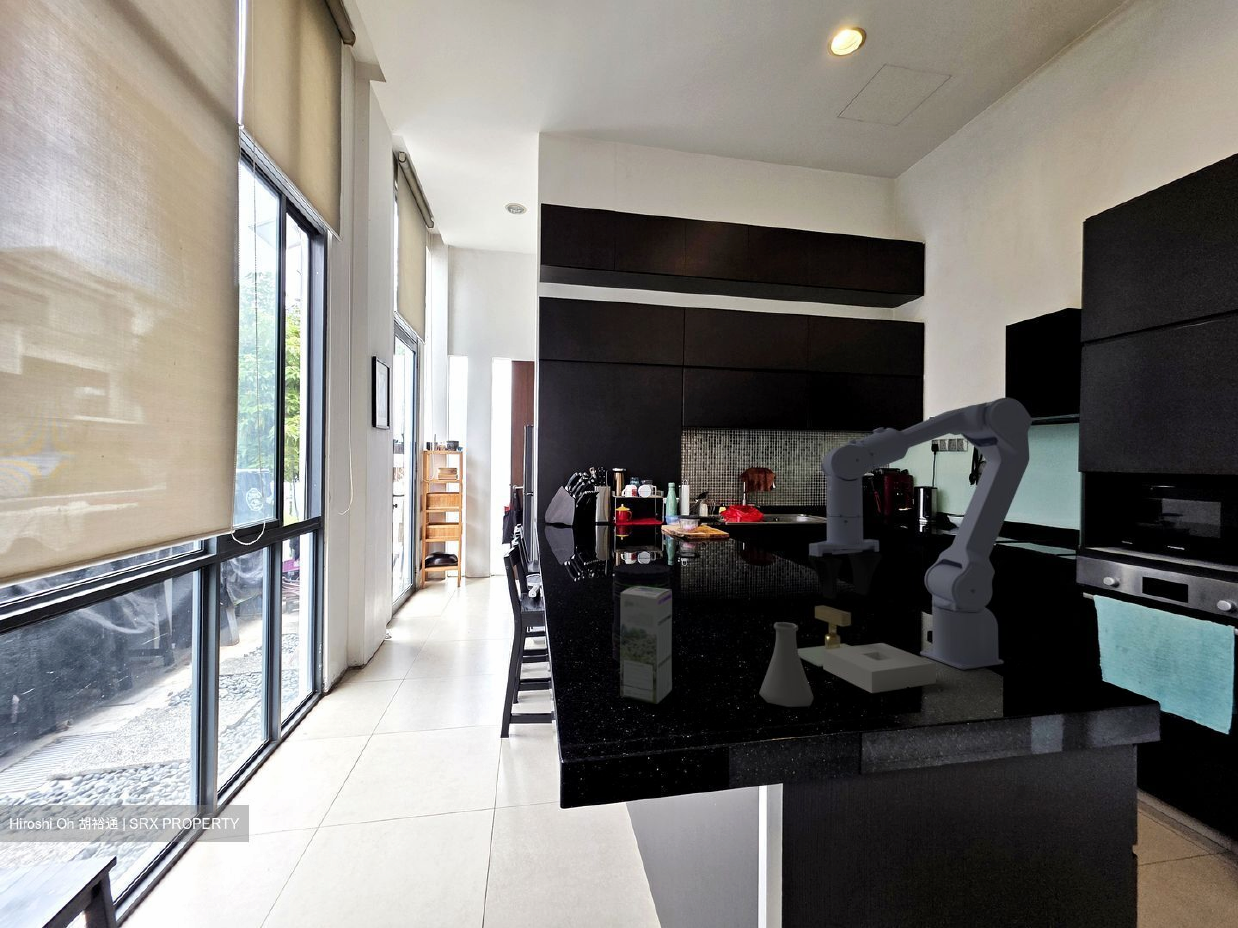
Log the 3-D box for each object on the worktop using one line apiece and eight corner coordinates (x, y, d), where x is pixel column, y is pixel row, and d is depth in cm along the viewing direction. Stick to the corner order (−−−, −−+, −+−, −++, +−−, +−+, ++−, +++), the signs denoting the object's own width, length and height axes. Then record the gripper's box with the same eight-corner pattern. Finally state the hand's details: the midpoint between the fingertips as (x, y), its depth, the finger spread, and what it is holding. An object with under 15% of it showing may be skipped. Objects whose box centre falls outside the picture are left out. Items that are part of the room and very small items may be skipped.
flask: (818, 711, 68) (818, 634, 69) (760, 706, 70) (760, 630, 70) (809, 689, 76) (809, 619, 76) (757, 685, 77) (757, 616, 77)
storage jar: (603, 662, 86) (604, 570, 87) (622, 644, 96) (622, 561, 96) (662, 669, 83) (663, 574, 84) (675, 650, 92) (676, 565, 93)
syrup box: (673, 690, 75) (673, 587, 75) (656, 706, 70) (657, 595, 70) (636, 683, 78) (637, 584, 78) (618, 697, 72) (619, 591, 73)
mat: (844, 645, 96) (844, 643, 96) (876, 658, 89) (876, 657, 89) (788, 651, 92) (788, 650, 92) (818, 666, 85) (818, 664, 85)
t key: (814, 649, 93) (814, 606, 93) (824, 647, 94) (824, 605, 94) (841, 660, 87) (841, 614, 87) (852, 658, 88) (851, 613, 88)
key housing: (882, 661, 88) (882, 643, 88) (935, 683, 78) (935, 662, 78) (823, 669, 84) (823, 649, 84) (871, 693, 74) (871, 671, 74)
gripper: (832, 519, 84) (833, 605, 83) (894, 516, 90) (895, 596, 90) (799, 516, 90) (800, 596, 90) (859, 514, 96) (860, 588, 96)
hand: (845, 596), depth 90 cm, fingers open, 7 cm apart
